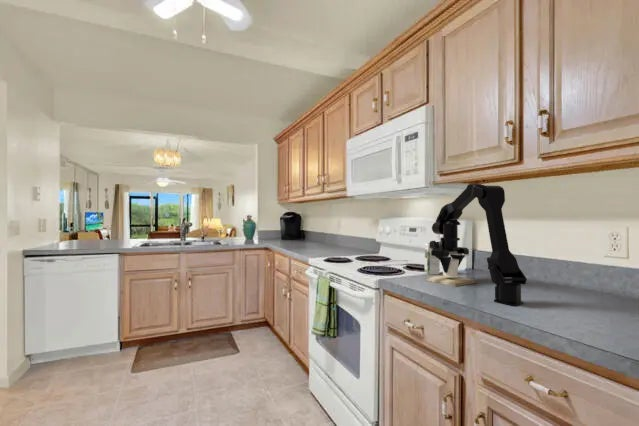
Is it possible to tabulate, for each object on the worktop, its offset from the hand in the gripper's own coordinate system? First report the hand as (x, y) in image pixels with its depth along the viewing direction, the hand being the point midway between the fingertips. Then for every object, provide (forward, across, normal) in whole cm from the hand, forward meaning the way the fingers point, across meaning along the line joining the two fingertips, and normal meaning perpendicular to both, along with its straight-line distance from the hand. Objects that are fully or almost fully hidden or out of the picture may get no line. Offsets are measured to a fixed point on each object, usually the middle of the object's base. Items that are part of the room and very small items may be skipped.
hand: (450, 271), depth 135 cm
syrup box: (+4, -9, -16) cm, 19 cm away
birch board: (+4, 0, 0) cm, 4 cm away
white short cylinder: (+2, 0, 0) cm, 2 cm away
